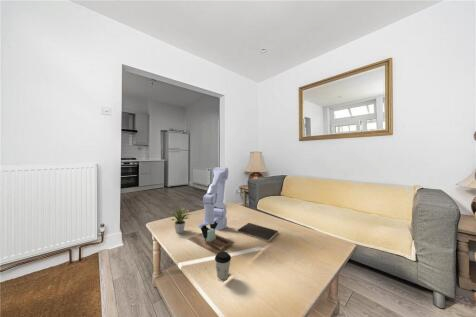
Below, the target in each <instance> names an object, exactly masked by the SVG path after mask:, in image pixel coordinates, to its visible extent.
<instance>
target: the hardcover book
mask: <svg viewBox="0 0 476 317" xmlns="http://www.w3.org/2000/svg"><path fill="white" fill-rule="evenodd" d="M237 232H238V233H239V234H242V235H246V236H249V237H252V238H253V239H254V238H255V239H258V240H260V241H263V242H267V243H269V242H270V241H271V240H272V239H273V238H275V236H277V234H278V233H279V230H276V229H272V228H270V227H269V228H268V227H265V226H262V225H258V224H256V223H255V224H254V223H251V222H248V223H246V224H244V225H243V226H242V227H240V228H238V229H237Z"/></svg>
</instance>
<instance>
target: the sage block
mask: <svg viewBox="0 0 476 317" xmlns="http://www.w3.org/2000/svg"><path fill="white" fill-rule="evenodd" d="M207 227H208V231H207V238H204V237H203V233H202V232H201V233H202V240H204V241H209V242H211V241H213V240H215V234H216V230H215V229H212V228H210V226H207Z"/></svg>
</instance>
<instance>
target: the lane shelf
mask: <svg viewBox="0 0 476 317" xmlns="http://www.w3.org/2000/svg"><path fill="white" fill-rule="evenodd" d="M187 240H188V241H191V243H194V244H196V245H197V246H199V247H202V248H203V249H205V250H207V251H209V252H210V253H213V254H214V255H217V253H219V252H224V250H227V249H228V248H230V247H231V246H232V245H234V244H236V242H235V241H233V240H230V239H228V238H226V237H223V236H221V235H219V234H216V233H215V240H213V241H211V242H209V241H204V240H202V232H201V233H198V234H196V235H193V236H192V237H189V238H187Z"/></svg>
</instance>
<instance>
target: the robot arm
mask: <svg viewBox="0 0 476 317" xmlns="http://www.w3.org/2000/svg"><path fill="white" fill-rule="evenodd" d="M212 172H213V176H214V177H213V179H212V183H211V184H209V187H208V189H207V192H206V194H204V195H203V197H202V203H203V207H204V209H203V210H204V211H203V214H204V216H203V217H204V218H203V221H202V222H200V223H198V228H199V229H200V230H201V233H203V237H204V238H207V231H208V227H209V228H212V229H215V231H222V230H224V228H227V229H228V218H227V216H226V215H227V205H226V204H225V203H224V196H225V188H226V187H225V186H226V181H227V180H228V179H229V168H228V167H217V166H215V167H214V168H213V170H212Z"/></svg>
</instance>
